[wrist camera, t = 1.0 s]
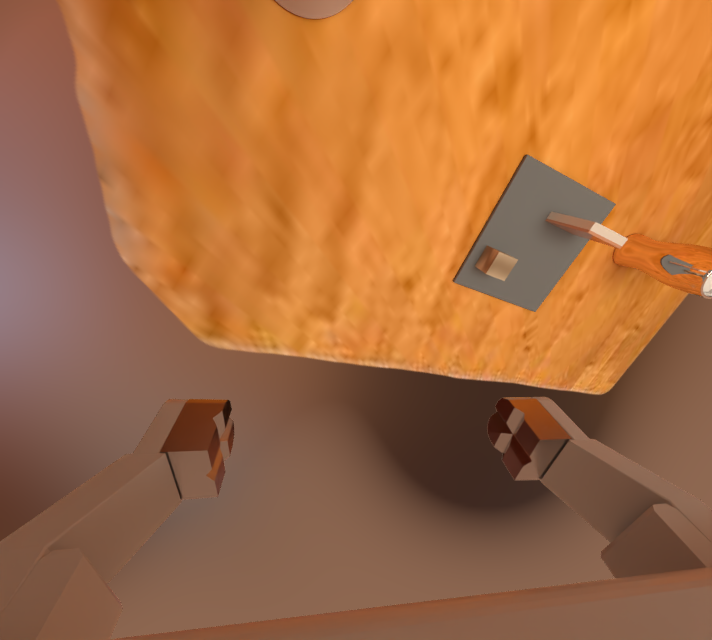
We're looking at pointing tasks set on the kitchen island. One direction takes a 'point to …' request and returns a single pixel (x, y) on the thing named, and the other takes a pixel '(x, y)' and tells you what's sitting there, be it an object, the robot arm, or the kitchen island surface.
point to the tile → (587, 229)
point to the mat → (532, 234)
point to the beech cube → (496, 263)
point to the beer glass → (669, 263)
